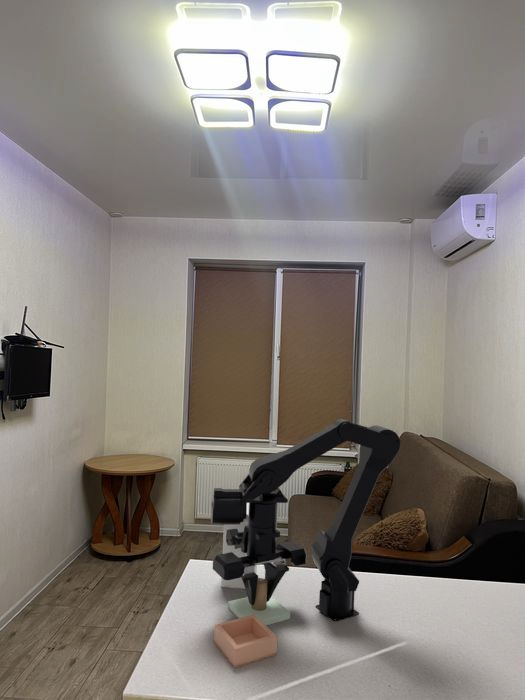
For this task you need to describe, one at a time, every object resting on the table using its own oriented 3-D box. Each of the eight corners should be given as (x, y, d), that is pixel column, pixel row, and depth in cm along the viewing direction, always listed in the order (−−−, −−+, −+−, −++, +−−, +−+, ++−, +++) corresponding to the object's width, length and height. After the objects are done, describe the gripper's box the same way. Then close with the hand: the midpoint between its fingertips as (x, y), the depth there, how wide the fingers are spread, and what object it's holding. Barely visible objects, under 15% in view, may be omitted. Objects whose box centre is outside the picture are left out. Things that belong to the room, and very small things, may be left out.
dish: (253, 633, 89) (254, 614, 90) (276, 657, 83) (277, 636, 83) (213, 644, 85) (214, 624, 86) (234, 670, 79) (235, 649, 79)
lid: (266, 597, 102) (267, 568, 102) (290, 618, 94) (291, 586, 94) (228, 607, 97) (229, 576, 98) (249, 629, 90) (251, 596, 90)
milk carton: (256, 577, 113) (260, 495, 113) (252, 591, 106) (256, 504, 106) (226, 574, 113) (230, 493, 114) (220, 588, 106) (224, 502, 107)
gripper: (280, 506, 108) (277, 577, 108) (203, 517, 98) (199, 594, 98) (309, 522, 98) (306, 599, 98) (227, 535, 89) (223, 621, 89)
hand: (259, 602), depth 96 cm, fingers open, 3 cm apart
